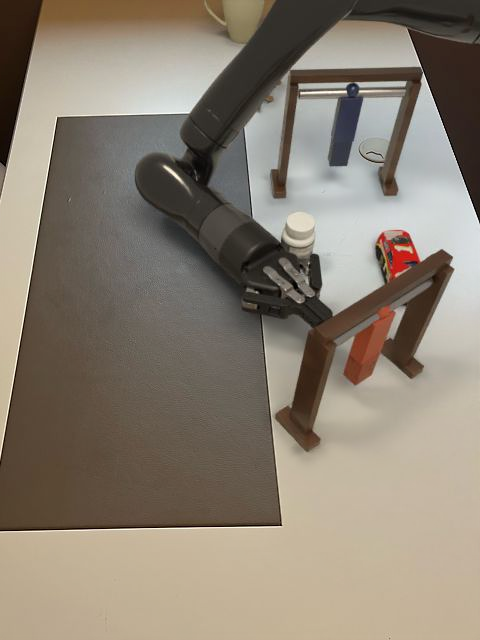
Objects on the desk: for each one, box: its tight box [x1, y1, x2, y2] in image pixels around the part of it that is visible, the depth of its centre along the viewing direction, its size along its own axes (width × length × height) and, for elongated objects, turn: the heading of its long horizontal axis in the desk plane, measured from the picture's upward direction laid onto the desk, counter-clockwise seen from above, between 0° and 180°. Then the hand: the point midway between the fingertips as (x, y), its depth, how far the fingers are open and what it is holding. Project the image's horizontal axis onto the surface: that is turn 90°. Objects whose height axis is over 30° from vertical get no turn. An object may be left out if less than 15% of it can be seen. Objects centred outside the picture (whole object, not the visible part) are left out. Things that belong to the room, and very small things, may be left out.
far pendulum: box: [297, 82, 406, 168], centre depth 94 cm, size 2×15×13 cm, turn 91°
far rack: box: [269, 66, 424, 199], centre depth 95 cm, size 6×20×19 cm, turn 91°
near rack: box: [274, 248, 455, 453], centre depth 72 cm, size 6×20×19 cm, turn 126°
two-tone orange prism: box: [333, 277, 434, 387], centre depth 70 cm, size 2×15×13 cm, turn 126°
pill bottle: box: [280, 211, 316, 275], centre depth 89 cm, size 5×5×8 cm
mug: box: [203, 0, 266, 44], centre depth 125 cm, size 11×10×12 cm
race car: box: [375, 229, 421, 305], centre depth 90 cm, size 13×5×4 cm, turn 1°
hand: (328, 324), depth 76 cm, fingers closed
